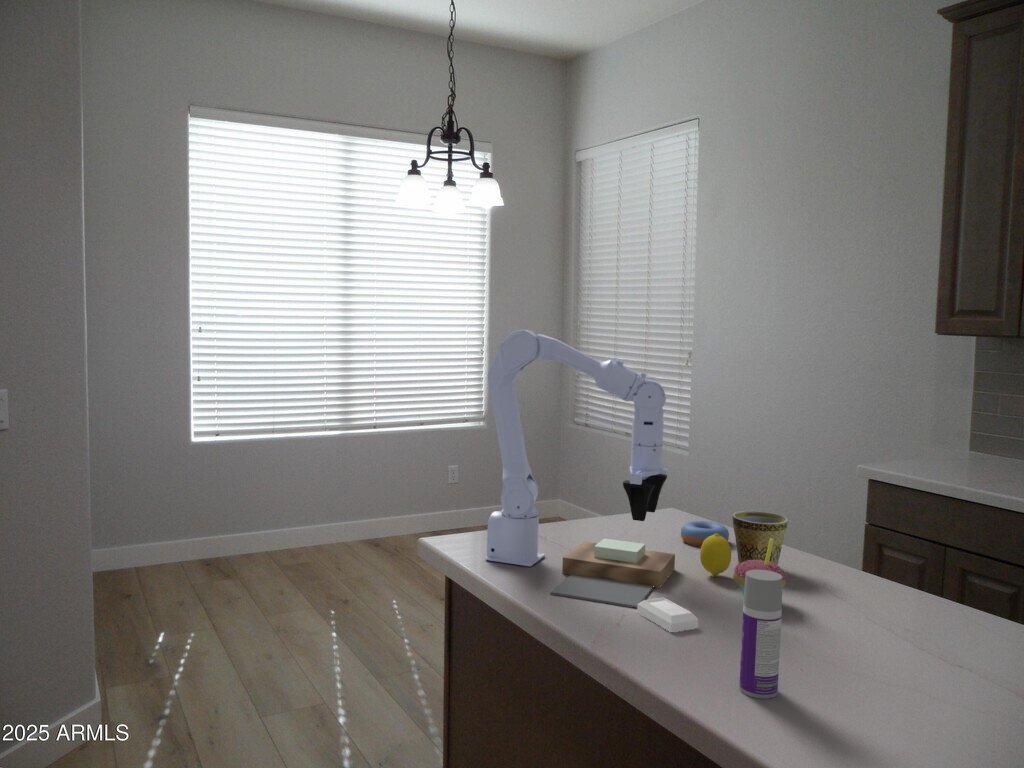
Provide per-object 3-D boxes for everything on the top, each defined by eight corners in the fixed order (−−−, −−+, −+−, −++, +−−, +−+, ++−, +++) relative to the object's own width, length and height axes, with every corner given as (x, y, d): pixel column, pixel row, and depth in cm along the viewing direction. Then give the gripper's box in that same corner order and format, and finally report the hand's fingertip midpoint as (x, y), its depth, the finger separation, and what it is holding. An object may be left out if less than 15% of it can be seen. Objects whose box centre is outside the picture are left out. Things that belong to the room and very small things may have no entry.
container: (733, 682, 106) (739, 569, 105) (768, 681, 107) (774, 569, 106) (747, 699, 102) (752, 580, 101) (783, 698, 102) (789, 580, 101)
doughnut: (721, 534, 179) (720, 514, 179) (735, 550, 169) (734, 528, 169) (676, 538, 179) (675, 518, 178) (687, 554, 169) (686, 532, 169)
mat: (550, 594, 139) (550, 591, 139) (571, 575, 149) (571, 573, 149) (637, 608, 133) (637, 605, 133) (653, 588, 143) (653, 586, 143)
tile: (593, 556, 151) (594, 546, 151) (603, 548, 156) (603, 538, 156) (636, 563, 148) (637, 552, 147) (644, 554, 153) (645, 543, 153)
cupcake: (793, 603, 137) (797, 532, 136) (770, 615, 131) (774, 542, 130) (746, 590, 143) (749, 522, 142) (722, 602, 137) (725, 531, 136)
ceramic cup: (792, 577, 151) (795, 524, 150) (737, 576, 151) (740, 522, 150) (771, 557, 164) (773, 507, 163) (721, 555, 164) (723, 506, 163)
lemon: (727, 572, 153) (729, 530, 152) (732, 581, 148) (734, 538, 147) (697, 570, 154) (699, 528, 153) (701, 580, 148) (703, 536, 148)
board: (562, 573, 150) (562, 557, 150) (583, 556, 161) (583, 541, 161) (659, 588, 143) (660, 571, 143) (674, 569, 154) (675, 553, 154)
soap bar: (670, 635, 123) (671, 618, 123) (637, 615, 131) (637, 598, 131) (697, 630, 125) (698, 613, 125) (662, 611, 133) (663, 595, 133)
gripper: (658, 451, 145) (655, 527, 146) (677, 441, 158) (674, 510, 159) (619, 447, 148) (617, 522, 149) (641, 437, 161) (638, 506, 162)
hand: (644, 515), depth 154 cm, fingers open, 7 cm apart
